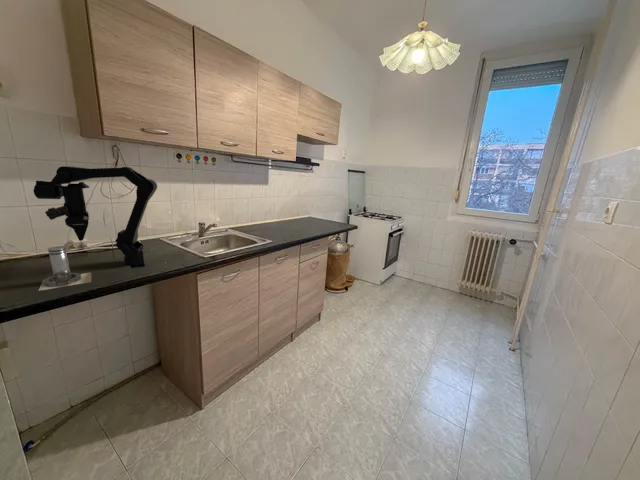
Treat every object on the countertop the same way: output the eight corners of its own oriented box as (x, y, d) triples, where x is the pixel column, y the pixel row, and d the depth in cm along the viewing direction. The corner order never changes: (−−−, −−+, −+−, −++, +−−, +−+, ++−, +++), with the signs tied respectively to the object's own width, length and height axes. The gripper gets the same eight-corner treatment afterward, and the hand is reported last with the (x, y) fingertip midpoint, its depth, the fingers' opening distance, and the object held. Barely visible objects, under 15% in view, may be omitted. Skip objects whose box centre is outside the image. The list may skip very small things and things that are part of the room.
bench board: (91, 274, 99) (91, 272, 99) (91, 284, 91) (91, 281, 91) (43, 282, 91) (43, 279, 91) (38, 293, 83) (38, 290, 83)
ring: (81, 274, 97) (81, 271, 97) (80, 282, 90) (80, 279, 90) (46, 279, 91) (45, 276, 91) (42, 288, 84) (41, 285, 84)
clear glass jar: (68, 277, 94) (62, 245, 91) (74, 280, 92) (67, 247, 89) (52, 281, 90) (45, 248, 87) (58, 284, 88) (50, 250, 85)
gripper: (47, 197, 100) (55, 235, 104) (40, 202, 87) (50, 246, 91) (85, 197, 107) (91, 232, 111) (84, 202, 94) (91, 242, 98)
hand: (81, 238), depth 102 cm, fingers open, 9 cm apart
